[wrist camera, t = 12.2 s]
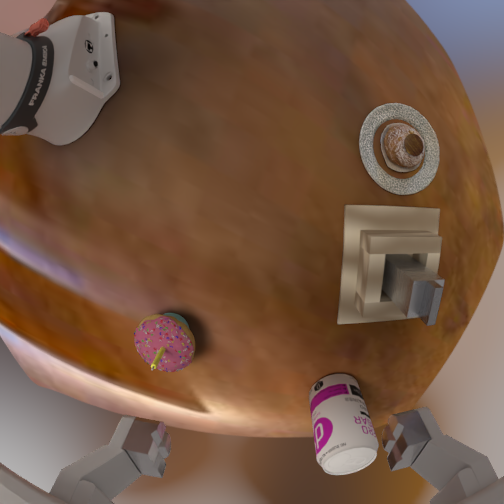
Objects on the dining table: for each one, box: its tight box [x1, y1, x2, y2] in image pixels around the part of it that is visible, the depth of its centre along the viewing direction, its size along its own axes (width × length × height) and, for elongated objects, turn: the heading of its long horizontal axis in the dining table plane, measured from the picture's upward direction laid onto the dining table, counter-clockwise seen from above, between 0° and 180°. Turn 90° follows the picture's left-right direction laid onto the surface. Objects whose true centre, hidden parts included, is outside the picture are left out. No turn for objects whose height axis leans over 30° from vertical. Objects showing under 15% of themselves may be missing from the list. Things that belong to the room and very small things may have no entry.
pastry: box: [359, 103, 440, 195], centre depth 29 cm, size 12×12×5 cm
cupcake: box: [134, 313, 195, 372], centre depth 34 cm, size 9×8×12 cm
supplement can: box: [309, 374, 379, 475], centre depth 34 cm, size 8×8×15 cm
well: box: [337, 205, 442, 324], centre depth 33 cm, size 16×14×5 cm
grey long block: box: [382, 254, 445, 326], centre depth 29 cm, size 4×4×12 cm
